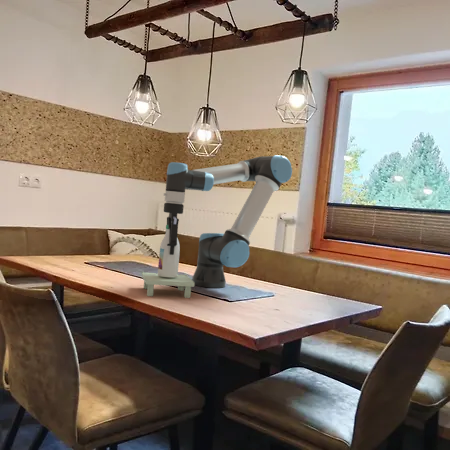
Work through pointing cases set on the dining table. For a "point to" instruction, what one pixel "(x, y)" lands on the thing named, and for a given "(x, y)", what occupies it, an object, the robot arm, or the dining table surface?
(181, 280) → the footstool
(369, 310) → the dining table surface
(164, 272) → the milk bottle
